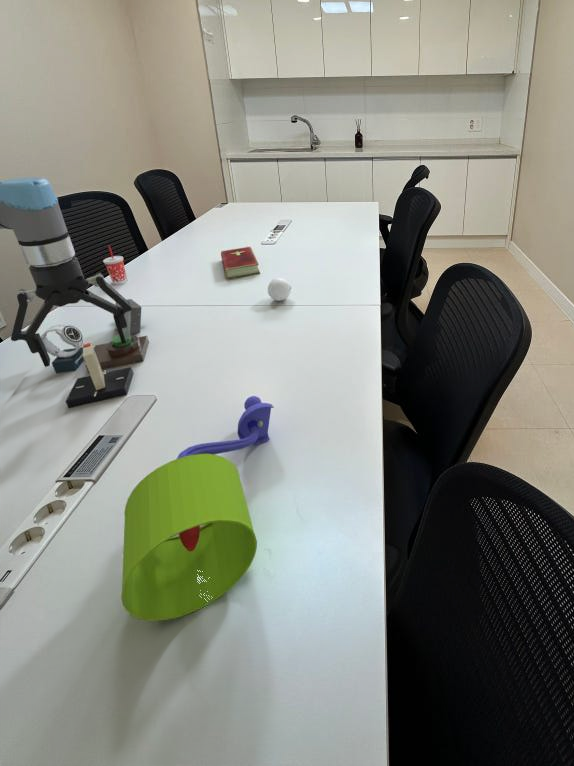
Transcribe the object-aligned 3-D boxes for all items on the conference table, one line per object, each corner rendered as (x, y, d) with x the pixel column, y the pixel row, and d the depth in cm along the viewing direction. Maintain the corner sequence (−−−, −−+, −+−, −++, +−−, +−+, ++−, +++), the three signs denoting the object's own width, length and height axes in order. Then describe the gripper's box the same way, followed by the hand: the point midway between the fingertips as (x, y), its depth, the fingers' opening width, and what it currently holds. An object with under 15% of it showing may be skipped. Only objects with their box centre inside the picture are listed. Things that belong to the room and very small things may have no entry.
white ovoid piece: (293, 302, 123) (291, 281, 120) (269, 306, 121) (266, 285, 118) (290, 289, 132) (287, 269, 129) (268, 292, 130) (265, 272, 127)
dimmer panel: (67, 410, 82) (64, 402, 81) (80, 383, 90) (77, 376, 89) (126, 397, 85) (123, 389, 84) (134, 372, 93) (131, 364, 92)
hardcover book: (226, 279, 141) (224, 269, 139) (222, 260, 158) (220, 250, 157) (260, 273, 145) (258, 263, 143) (252, 255, 163) (250, 245, 161)
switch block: (88, 372, 93) (82, 359, 92) (97, 352, 101) (93, 339, 99) (143, 361, 97) (139, 348, 95) (149, 342, 105) (145, 329, 103)
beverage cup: (109, 281, 142) (97, 245, 136) (127, 276, 145) (117, 241, 140) (112, 286, 138) (100, 250, 132) (131, 281, 141) (120, 245, 136)
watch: (84, 369, 94) (69, 331, 90) (47, 374, 93) (30, 335, 89) (95, 356, 99) (81, 319, 95) (60, 360, 98) (44, 323, 94)
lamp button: (112, 349, 96) (110, 343, 95) (115, 341, 99) (113, 335, 98) (130, 346, 97) (128, 340, 96) (133, 337, 100) (131, 332, 100)
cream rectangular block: (105, 387, 85) (91, 352, 81) (96, 390, 84) (82, 355, 81) (103, 375, 89) (91, 341, 85) (95, 378, 88) (82, 344, 84)
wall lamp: (128, 382, 64) (121, 548, 40) (265, 366, 76) (323, 486, 52) (127, 453, 69) (121, 641, 45) (257, 427, 81) (307, 565, 56)
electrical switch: (114, 328, 112) (108, 298, 109) (134, 322, 116) (129, 293, 112) (126, 339, 106) (120, 309, 103) (147, 333, 110) (141, 303, 107)
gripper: (125, 241, 84) (149, 325, 93) (-32, 269, 71) (14, 364, 80) (128, 251, 78) (154, 339, 87) (-41, 284, 65) (9, 383, 74)
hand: (87, 351), depth 83 cm, fingers open, 13 cm apart
